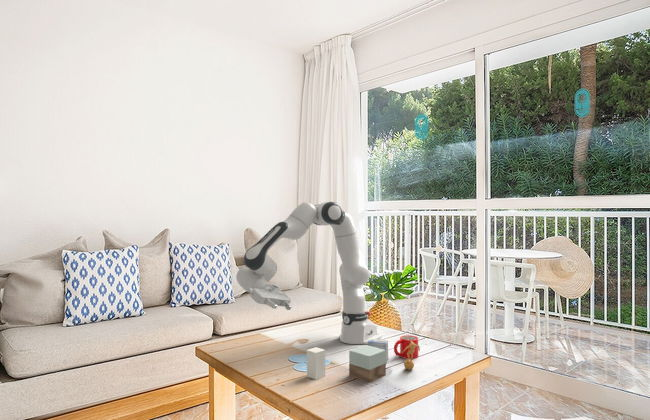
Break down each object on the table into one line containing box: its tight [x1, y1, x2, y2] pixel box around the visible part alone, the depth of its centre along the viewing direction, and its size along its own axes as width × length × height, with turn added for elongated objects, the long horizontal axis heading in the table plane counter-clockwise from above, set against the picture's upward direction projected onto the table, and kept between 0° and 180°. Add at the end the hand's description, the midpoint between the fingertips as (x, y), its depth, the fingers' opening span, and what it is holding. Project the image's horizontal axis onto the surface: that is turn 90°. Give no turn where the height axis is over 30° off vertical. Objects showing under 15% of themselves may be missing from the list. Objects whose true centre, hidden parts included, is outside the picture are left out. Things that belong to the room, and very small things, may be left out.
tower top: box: [348, 344, 387, 370], centre depth 164 cm, size 10×10×5 cm
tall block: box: [306, 346, 326, 380], centre depth 164 cm, size 5×5×10 cm
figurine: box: [402, 341, 421, 371], centre depth 169 cm, size 8×6×12 cm
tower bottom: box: [348, 363, 387, 383], centre depth 164 cm, size 10×10×5 cm
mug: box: [393, 334, 419, 360], centre depth 186 cm, size 8×12×8 cm, turn 119°
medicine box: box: [367, 338, 389, 364], centre depth 180 cm, size 8×4×9 cm, turn 71°
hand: (282, 307), depth 176 cm, fingers open, 8 cm apart
